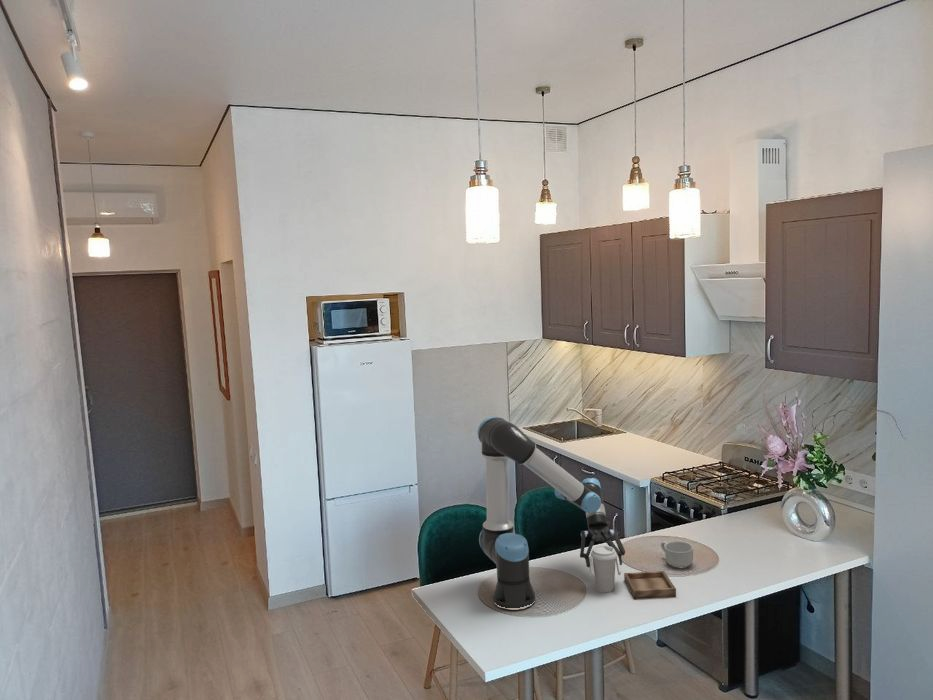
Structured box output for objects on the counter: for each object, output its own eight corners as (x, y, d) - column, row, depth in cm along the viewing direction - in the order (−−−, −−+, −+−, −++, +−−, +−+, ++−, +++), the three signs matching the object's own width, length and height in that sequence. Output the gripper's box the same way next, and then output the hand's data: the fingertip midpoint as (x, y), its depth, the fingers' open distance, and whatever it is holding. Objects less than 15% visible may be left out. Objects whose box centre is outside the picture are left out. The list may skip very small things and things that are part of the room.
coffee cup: (618, 595, 251) (617, 555, 249) (591, 593, 253) (590, 554, 251) (618, 583, 260) (616, 544, 259) (592, 582, 262) (590, 544, 261)
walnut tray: (634, 599, 247) (633, 591, 247) (624, 580, 262) (624, 573, 262) (676, 596, 247) (675, 588, 247) (664, 578, 262) (663, 570, 262)
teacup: (699, 567, 270) (699, 547, 269) (676, 573, 266) (676, 553, 265) (676, 554, 283) (675, 535, 282) (654, 560, 279) (653, 541, 278)
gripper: (623, 519, 270) (634, 576, 256) (567, 523, 270) (575, 579, 256) (626, 511, 264) (637, 568, 250) (568, 514, 264) (576, 572, 250)
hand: (606, 574), depth 253 cm, fingers closed on coffee cup, 9 cm apart
